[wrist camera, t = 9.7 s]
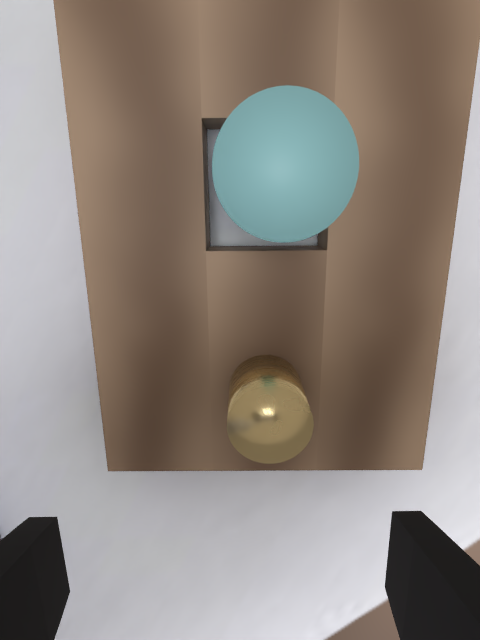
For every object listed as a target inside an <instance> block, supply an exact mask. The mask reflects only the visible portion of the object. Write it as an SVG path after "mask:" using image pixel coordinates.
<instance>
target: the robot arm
mask: <svg viewBox="0 0 480 640" xmlns="http://www.w3.org/2000/svg"><path fill="white" fill-rule="evenodd" d="M385 589H386V592H387V596H388V599H389V603H390V607H391V610H392V614H393V617H394V620H395V624H396V627H397V630H398V634H399V637H400V640H480V566H479V565H478V564H477V563H476V562H475V561H474V560H473V559H472V558H471V557H470V556H469V555H468V554H466V553H465V552H464V551H463V550H462V549H461V548H460V547H459V546H458V545H457V544H456V543H455V542H454V541H453V540H452V539H451V538H449V537H448V536H447V535H446V534H445V533H444V532H443V531H442V530H441V529H440V528H439V527H438V526H437V525H436V524H435V523H434V522H432V521H431V520H430V519H429V518H428V517H427V516H426V515H425V514H424V513H423V512H422V511H392V520H391V530H390V540H389V550H388V560H387V570H386V580H385ZM69 593H70V589H69V583H68V577H67V571H66V566H65V560H64V554H63V548H62V543H61V537H60V531H59V525H58V520H57V517H29V518H28V519H26V520H25V521H24V522H23V523H21V524H20V525H19V526H18V527H16V528H15V529H14V530H13V531H12V532H10V533H9V534H8V535H7V536H6V537H4V538H3V539H2V540H1V541H0V640H54V638H55V635H56V633H57V630H58V627H59V624H60V621H61V618H62V615H63V612H64V608H65V605H66V602H67V599H68V596H69Z"/></svg>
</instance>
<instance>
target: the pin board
mask: <svg viewBox="0 0 480 640" xmlns="http://www.w3.org/2000/svg"><path fill="white" fill-rule="evenodd" d="M53 1H54V9H55V18H56V26H57V35H58V44H59V52H60V61H61V70H62V78H63V87H64V95H65V104H66V113H67V121H68V130H69V139H70V147H71V156H72V164H73V173H74V182H75V190H76V199H77V208H78V216H79V225H80V233H81V242H82V251H83V259H84V268H85V276H86V285H87V294H88V302H89V311H90V320H91V328H92V337H93V345H94V354H95V363H96V371H97V380H98V389H99V397H100V406H101V414H102V423H103V432H104V440H105V449H106V458H107V466H108V471H257V470H422V467H423V460H424V452H425V445H426V437H427V430H428V422H429V415H430V407H431V400H432V392H433V385H434V377H435V370H436V362H437V355H438V347H439V340H440V333H441V325H442V318H443V310H444V303H445V295H446V288H447V280H448V273H449V265H450V258H451V250H452V243H453V235H454V228H455V220H456V213H457V205H458V198H459V191H460V183H461V176H462V168H463V161H464V153H465V146H466V138H467V131H468V123H469V116H470V108H471V101H472V93H473V86H474V78H475V71H476V63H477V56H478V48H479V41H480V0H53ZM286 85H290V86H300V87H304V88H308V89H311V90H313V91H316V92H318V93H320V94H322V95H324V96H325V97H327V98H328V99H329V100H331V101H332V102H333V103H334V104H335V105H336V106H337V107H338V108H339V109H340V110H341V111H342V112H343V114H344V115H345V116H346V118H347V119H348V121H349V123H350V125H351V127H352V129H353V132H354V134H355V137H356V141H357V145H358V151H359V172H358V179H357V182H356V186H355V189H354V192H353V194H352V197H351V199H350V201H349V203H348V204H347V206H346V208H345V209H344V210H343V212H342V213H341V215H340V216H339V217H338V218H337V219H336V220H335V221H334V222H333V223H332V224H331V225H329V226H328V227H327V228H326V229H324V230H323V231H321V232H320V233H318V246H212V247H210V227H209V193H208V159H207V129H221V127H222V126H223V124H224V122H225V121H226V119H227V118H228V116H229V115H230V114H231V113H232V111H233V110H234V109H235V108H236V107H237V106H238V105H239V104H240V103H242V102H243V101H244V100H246V99H247V98H248V97H250V96H252V95H253V94H255V93H257V92H259V91H262V90H265V89H267V88H271V87H276V86H286Z"/></svg>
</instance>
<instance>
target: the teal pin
mask: <svg viewBox="0 0 480 640" xmlns="http://www.w3.org/2000/svg"><path fill="white" fill-rule="evenodd" d="M358 172H359V151H358V145H357V141H356V137H355V134H354V132H353V129H352V127H351V125H350V123H349V121H348V119H347V118H346V116H345V115H344V114H343V112H342V111H341V110H340V109H339V108H338V107H337V106H336V105H335V104H334V103H333V102H332V101H331V100H329V99H328V98H327V97H325V96H324V95H322V94H320V93H318V92H316V91H313V90H311V89H308V88H304V87H300V86H290V85H286V86H276V87H271V88H267V89H265V90H262V91H259V92H257V93H255V94H253V95H252V96H250V97H248V98H247V99H246V100H244V101H243V102H242V103H240V104H239V105H238V106H237V107H236V108H235V109H234V110H233V111H232V113H231V114H230V115H229V116H228V118H227V119H226V121H225V122H224V124H223V126H222V127H221V129H220V132H219V134H218V136H217V139H216V142H215V146H214V151H213V157H212V176H213V182H214V187H215V190H216V193H217V196H218V199H219V201H220V203H221V205H222V207H223V208H224V210H225V211H226V213H227V214H228V216H229V217H230V218H231V219H232V220H233V221H234V222H235V223H236V224H237V225H238V226H239V227H240V228H242V229H243V230H245V231H246V232H247V233H249V234H251V235H253V236H255V237H257V238H260V239H263V240H267V241H272V242H281V243H285V242H295V241H300V240H304V239H307V238H309V237H312V236H314V235H316V234H318V233H320V232H321V231H323V230H324V229H326V228H327V227H328V226H329V225H331V224H332V223H333V222H334V221H335V220H336V219H337V218H338V217H339V216H340V215H341V213H342V212H343V210H344V209H345V208H346V206H347V204H348V203H349V201H350V199H351V197H352V194H353V192H354V189H355V186H356V182H357V179H358Z"/></svg>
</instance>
